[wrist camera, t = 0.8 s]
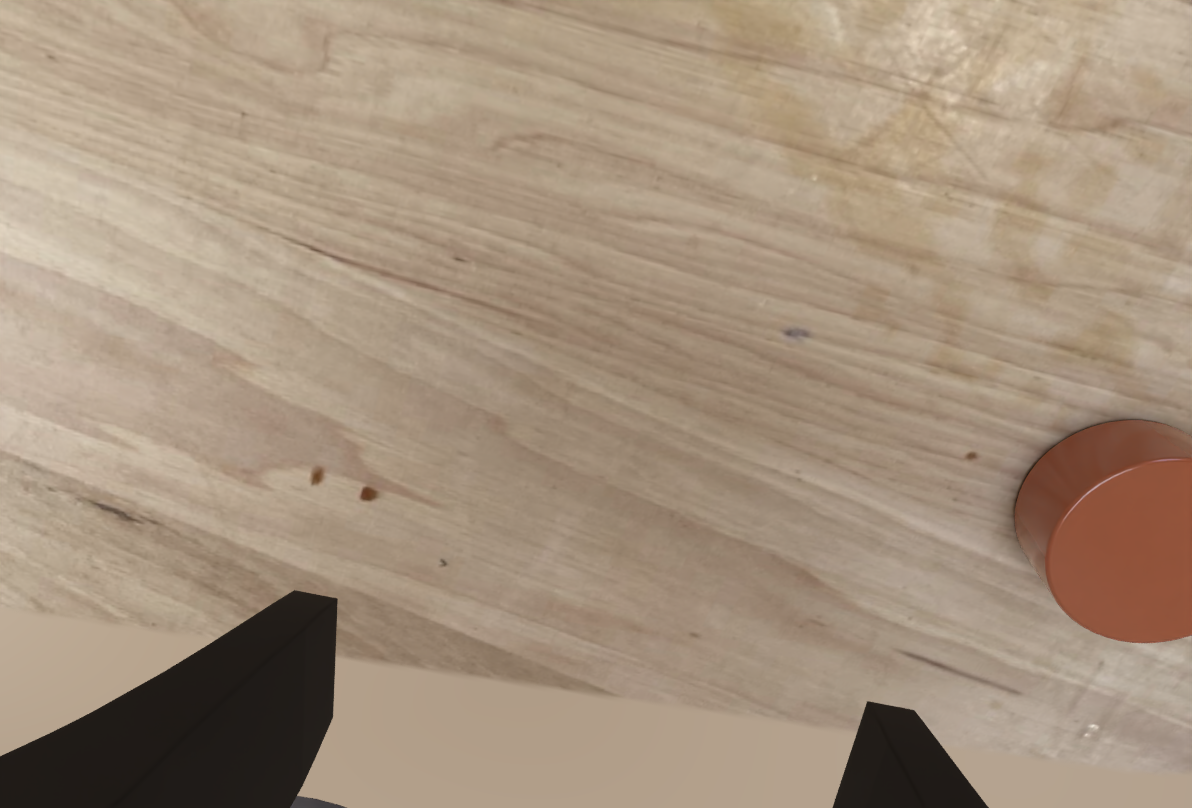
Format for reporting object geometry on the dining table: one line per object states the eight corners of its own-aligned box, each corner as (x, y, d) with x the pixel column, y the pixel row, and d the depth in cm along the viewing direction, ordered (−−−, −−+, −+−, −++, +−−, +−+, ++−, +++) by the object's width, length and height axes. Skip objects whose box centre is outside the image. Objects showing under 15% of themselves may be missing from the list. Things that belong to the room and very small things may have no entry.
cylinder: (1174, 606, 22) (1223, 663, 20) (987, 570, 22) (1017, 622, 20) (1255, 439, 20) (1318, 481, 18) (1051, 401, 20) (1091, 439, 18)
